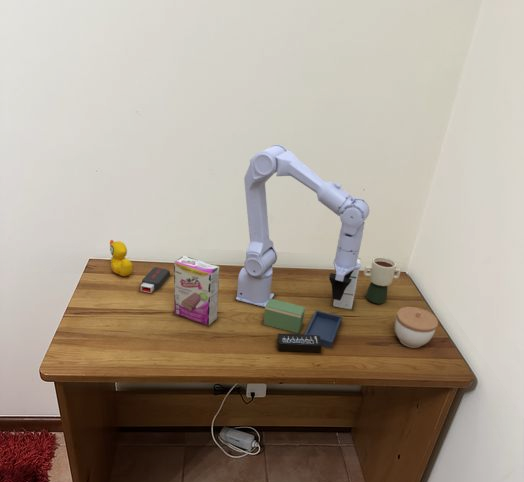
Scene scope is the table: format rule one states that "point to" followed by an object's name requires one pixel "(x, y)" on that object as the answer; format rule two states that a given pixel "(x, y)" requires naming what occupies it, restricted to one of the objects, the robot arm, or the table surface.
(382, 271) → the character mug
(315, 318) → the desk tray
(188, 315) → the candy bar box
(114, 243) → the duckling
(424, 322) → the trinket box
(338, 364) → the table surface
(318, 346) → the multiport hub
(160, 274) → the usb drive
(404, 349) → the table surface
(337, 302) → the syrup box
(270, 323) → the green box
